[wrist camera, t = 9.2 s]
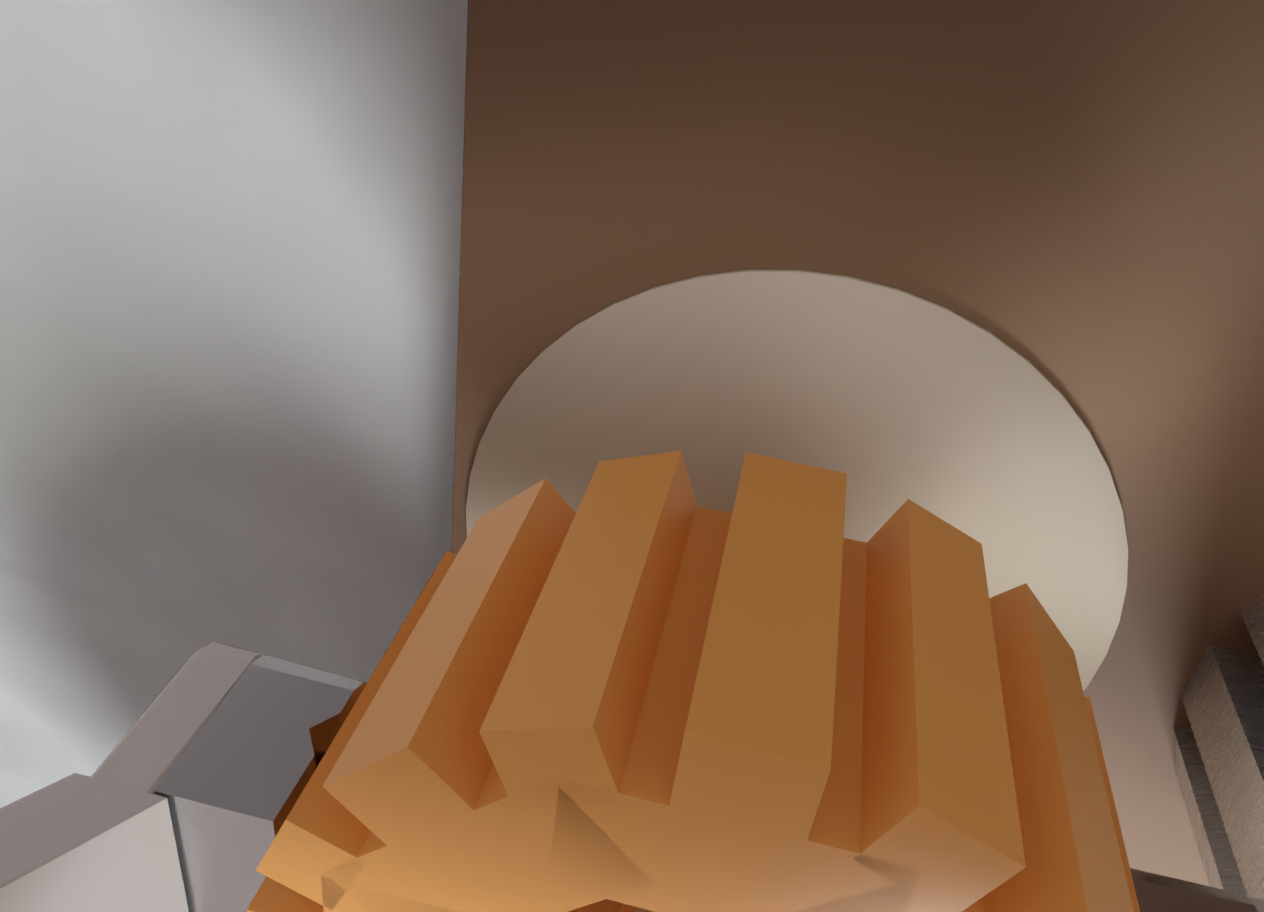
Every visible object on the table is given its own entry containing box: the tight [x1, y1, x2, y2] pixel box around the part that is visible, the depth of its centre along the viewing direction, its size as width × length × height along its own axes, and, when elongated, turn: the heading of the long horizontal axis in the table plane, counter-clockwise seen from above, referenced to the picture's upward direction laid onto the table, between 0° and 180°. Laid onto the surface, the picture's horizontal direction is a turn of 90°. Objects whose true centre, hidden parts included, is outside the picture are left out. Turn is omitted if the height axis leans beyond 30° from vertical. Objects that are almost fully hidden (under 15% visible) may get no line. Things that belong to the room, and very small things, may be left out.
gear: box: [247, 451, 1140, 912], centre depth 9 cm, size 6×6×3 cm
